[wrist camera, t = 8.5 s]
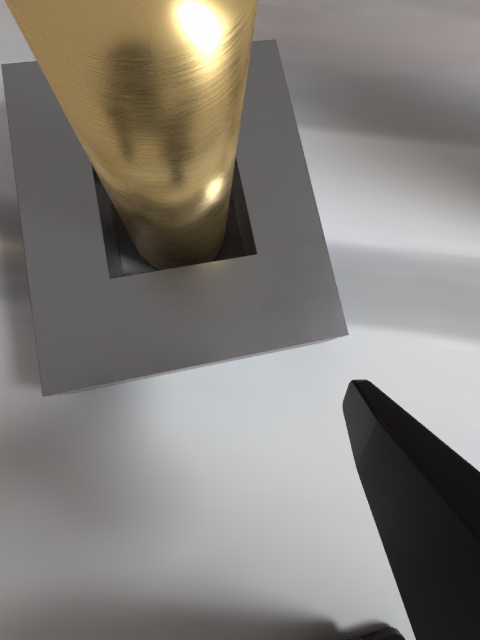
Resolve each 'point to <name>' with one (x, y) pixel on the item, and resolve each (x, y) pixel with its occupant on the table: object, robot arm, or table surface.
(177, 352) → the jig plate
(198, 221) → the brass cylinder
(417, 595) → the robot arm
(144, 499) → the table surface
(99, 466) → the table surface
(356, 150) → the table surface
